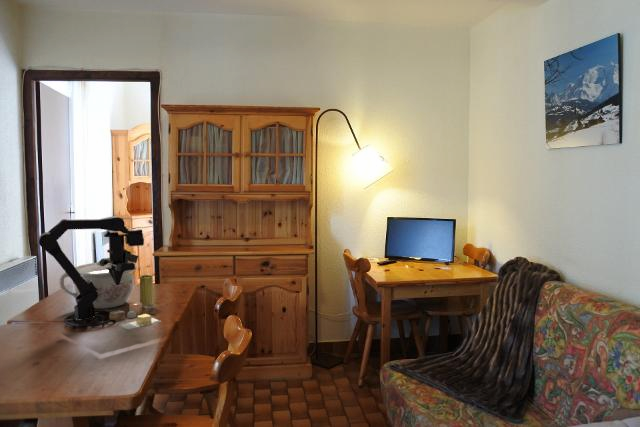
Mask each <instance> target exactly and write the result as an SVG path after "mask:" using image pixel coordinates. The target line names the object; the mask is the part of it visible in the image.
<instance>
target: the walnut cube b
mask: <svg viewBox="0 0 640 427" xmlns="http://www.w3.org/2000/svg"><path fill="white" fill-rule="evenodd" d="M156 308H157V307H156V306H155V304H154V305H147V306H144V307H143V314H148V315H155V314H156V313H157V312H156V311H157V310H156Z"/></svg>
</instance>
